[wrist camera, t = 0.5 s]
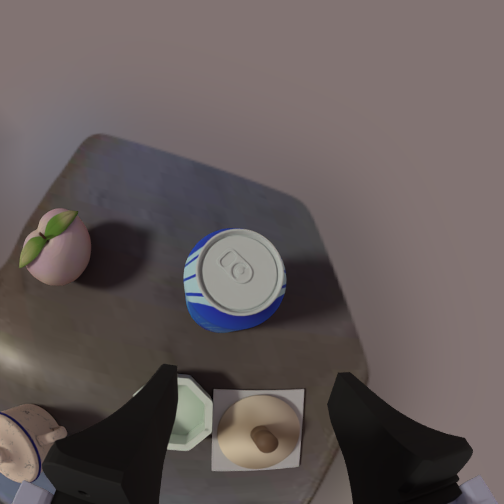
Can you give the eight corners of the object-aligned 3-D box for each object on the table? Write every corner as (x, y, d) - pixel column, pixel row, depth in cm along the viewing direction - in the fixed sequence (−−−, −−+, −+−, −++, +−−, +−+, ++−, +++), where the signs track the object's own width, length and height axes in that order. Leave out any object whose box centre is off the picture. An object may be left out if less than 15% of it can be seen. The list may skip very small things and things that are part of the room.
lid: (295, 463, 32) (308, 476, 27) (216, 467, 30) (220, 483, 26) (299, 393, 35) (314, 399, 30) (218, 393, 33) (222, 401, 29)
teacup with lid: (32, 464, 24) (-7, 492, 13) (4, 407, 26) (-43, 420, 15) (94, 452, 28) (64, 488, 17) (63, 390, 29) (20, 405, 18)
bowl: (209, 441, 31) (211, 451, 28) (139, 434, 30) (133, 444, 26) (211, 375, 34) (213, 380, 30) (139, 369, 32) (133, 372, 29)
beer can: (248, 264, 39) (286, 215, 24) (257, 329, 37) (303, 320, 22) (183, 269, 37) (179, 220, 22) (189, 336, 35) (188, 334, 20)
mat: (297, 465, 32) (298, 466, 32) (211, 469, 30) (211, 470, 30) (303, 388, 36) (304, 389, 35) (213, 388, 34) (213, 389, 33)
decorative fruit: (73, 307, 33) (38, 295, 23) (35, 269, 33) (-2, 247, 23) (115, 250, 36) (93, 221, 26) (75, 216, 36) (48, 181, 26)
